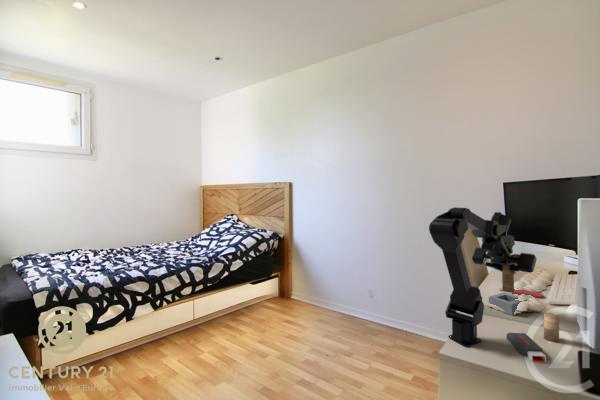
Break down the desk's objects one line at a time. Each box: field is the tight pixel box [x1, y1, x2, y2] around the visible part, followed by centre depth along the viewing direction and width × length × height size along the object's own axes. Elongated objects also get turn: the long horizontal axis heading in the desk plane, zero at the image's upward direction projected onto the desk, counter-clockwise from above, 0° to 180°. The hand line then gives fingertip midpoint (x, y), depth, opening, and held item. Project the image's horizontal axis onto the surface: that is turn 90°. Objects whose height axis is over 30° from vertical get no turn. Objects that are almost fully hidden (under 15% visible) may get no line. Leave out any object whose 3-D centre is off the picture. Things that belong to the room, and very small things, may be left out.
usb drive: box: [505, 332, 547, 363], centre depth 86 cm, size 5×12×3 cm, turn 169°
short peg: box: [543, 312, 560, 343], centre depth 90 cm, size 4×4×7 cm
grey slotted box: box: [488, 292, 528, 316], centre depth 112 cm, size 8×8×4 cm
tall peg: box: [501, 264, 515, 293], centre depth 111 cm, size 4×4×13 cm
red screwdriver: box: [498, 288, 544, 299], centre depth 126 cm, size 4×2×15 cm
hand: (509, 271), depth 112 cm, fingers closed on tall peg, 3 cm apart
